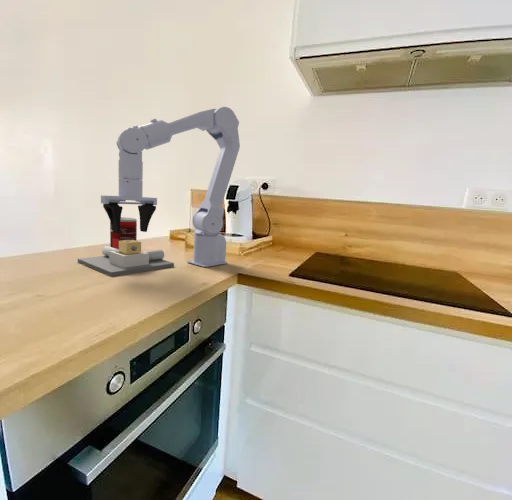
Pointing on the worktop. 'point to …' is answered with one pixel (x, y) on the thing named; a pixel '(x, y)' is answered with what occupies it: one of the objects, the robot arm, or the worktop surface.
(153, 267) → the shaft board
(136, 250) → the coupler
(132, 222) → the canned food
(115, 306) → the worktop surface
